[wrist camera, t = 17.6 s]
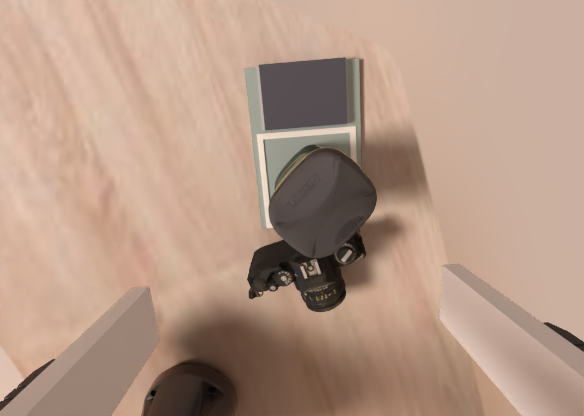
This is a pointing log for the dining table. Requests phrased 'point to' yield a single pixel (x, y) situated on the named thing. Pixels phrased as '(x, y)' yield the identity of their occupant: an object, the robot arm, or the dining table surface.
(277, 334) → the dining table surface
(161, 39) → the dining table surface
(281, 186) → the coffee jar
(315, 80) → the pad
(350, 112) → the board
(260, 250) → the film camera
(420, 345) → the dining table surface
